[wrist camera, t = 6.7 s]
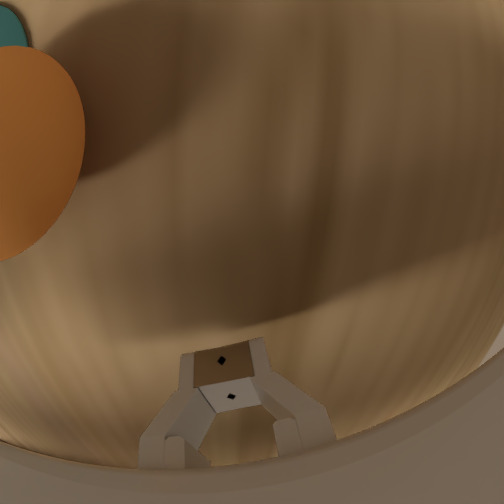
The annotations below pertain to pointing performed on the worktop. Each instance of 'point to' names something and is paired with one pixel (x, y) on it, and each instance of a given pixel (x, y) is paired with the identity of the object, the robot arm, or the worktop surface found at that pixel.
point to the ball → (36, 145)
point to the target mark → (11, 29)
